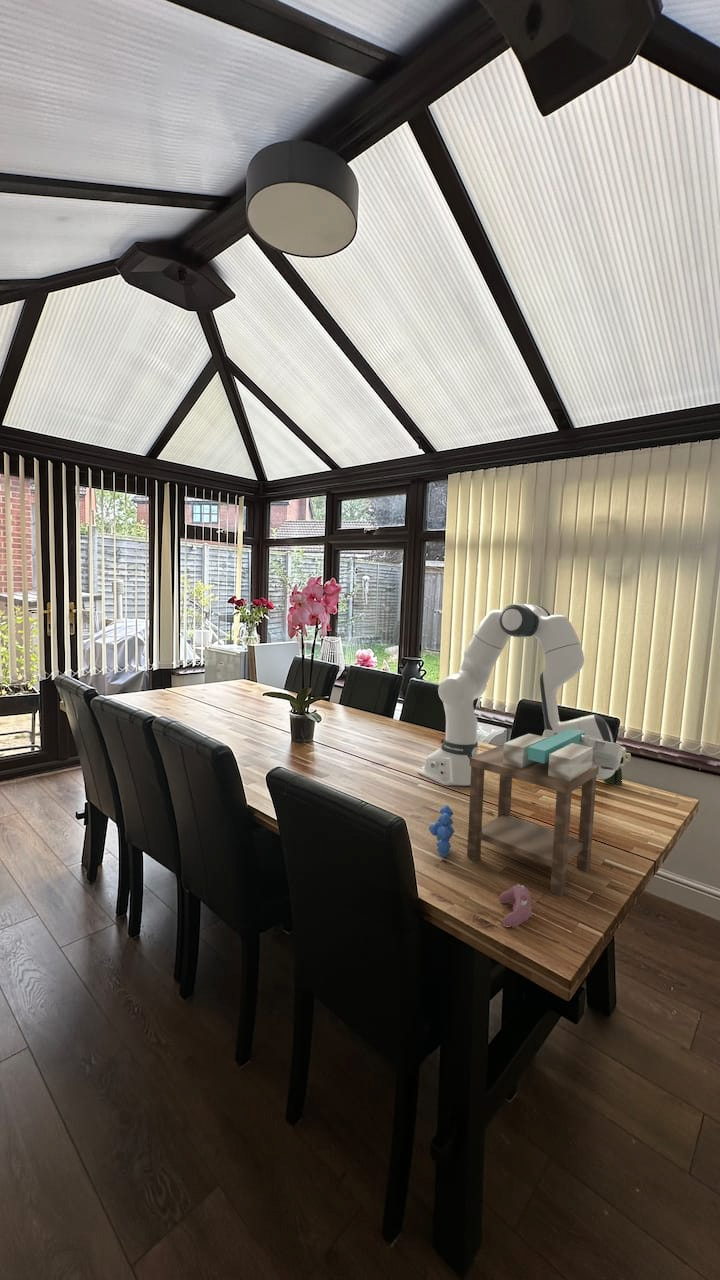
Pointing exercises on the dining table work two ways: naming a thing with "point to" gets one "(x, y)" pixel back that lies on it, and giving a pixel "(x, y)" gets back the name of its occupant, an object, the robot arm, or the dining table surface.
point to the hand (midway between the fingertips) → (572, 736)
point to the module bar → (553, 745)
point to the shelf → (524, 837)
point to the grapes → (443, 830)
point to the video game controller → (517, 905)
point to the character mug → (619, 769)
